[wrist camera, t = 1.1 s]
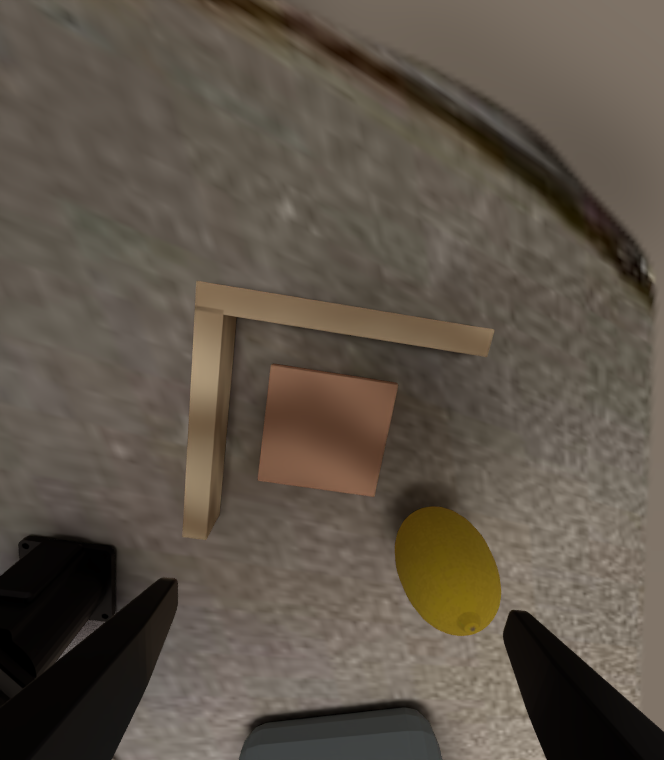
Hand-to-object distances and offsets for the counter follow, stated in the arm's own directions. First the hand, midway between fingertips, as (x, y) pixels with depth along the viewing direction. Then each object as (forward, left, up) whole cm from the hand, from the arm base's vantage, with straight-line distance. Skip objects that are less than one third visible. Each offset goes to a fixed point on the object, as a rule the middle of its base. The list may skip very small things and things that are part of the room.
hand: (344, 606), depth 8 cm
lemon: (-6, -7, -13) cm, 16 cm away
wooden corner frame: (0, +1, -13) cm, 13 cm away
